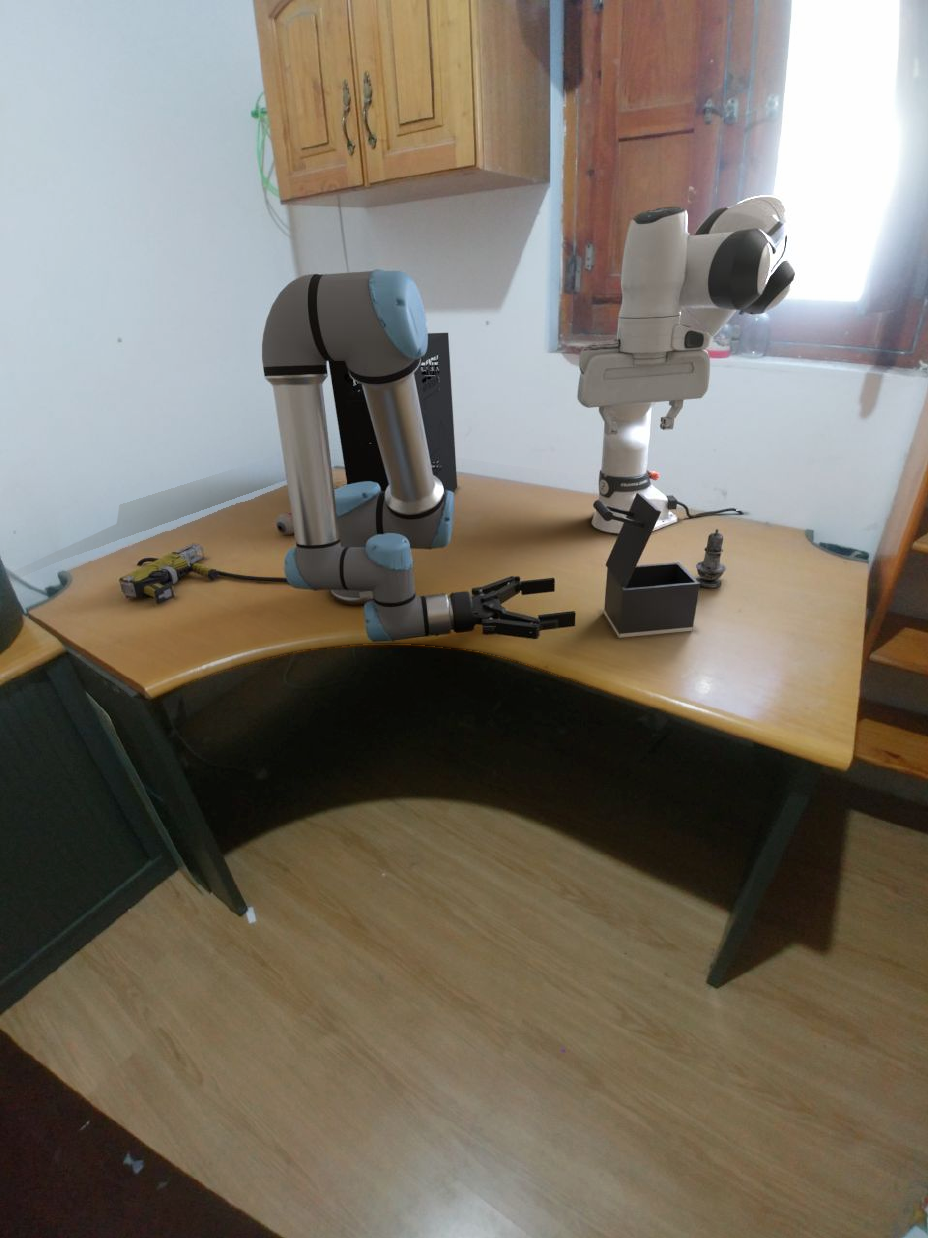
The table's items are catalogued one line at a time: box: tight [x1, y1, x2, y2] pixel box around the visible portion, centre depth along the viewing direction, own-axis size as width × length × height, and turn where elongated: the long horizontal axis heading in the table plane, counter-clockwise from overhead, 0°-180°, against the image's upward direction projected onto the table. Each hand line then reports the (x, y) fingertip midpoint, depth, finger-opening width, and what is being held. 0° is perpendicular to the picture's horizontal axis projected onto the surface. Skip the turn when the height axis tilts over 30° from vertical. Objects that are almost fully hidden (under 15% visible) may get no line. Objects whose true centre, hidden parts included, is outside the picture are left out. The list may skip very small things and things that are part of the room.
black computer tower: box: [328, 332, 458, 493], centre depth 169 cm, size 38×20×45 cm, turn 167°
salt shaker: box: [695, 528, 727, 589], centre depth 125 cm, size 6×6×12 cm
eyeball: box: [275, 511, 295, 536], centre depth 163 cm, size 6×6×6 cm
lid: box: [592, 493, 661, 588], centre depth 106 cm, size 15×9×9 cm
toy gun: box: [118, 542, 219, 605], centre depth 141 cm, size 5×24×15 cm
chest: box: [603, 561, 701, 639], centre depth 113 cm, size 14×9×10 cm
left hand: (564, 600), depth 112 cm, fingers open, 13 cm apart
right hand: (638, 431), depth 97 cm, fingers open, 8 cm apart
